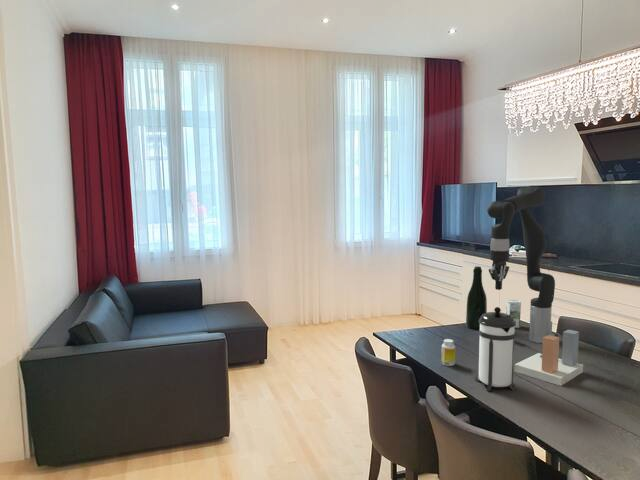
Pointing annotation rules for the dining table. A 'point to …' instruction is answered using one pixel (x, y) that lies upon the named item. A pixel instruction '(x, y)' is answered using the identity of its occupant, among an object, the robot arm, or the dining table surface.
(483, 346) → the coffee press
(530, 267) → the robot arm
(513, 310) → the syrup box
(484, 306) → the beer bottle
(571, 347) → the slate slider
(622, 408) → the dining table surface
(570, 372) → the control board
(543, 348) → the terracotta slider
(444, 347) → the supplement bottle
